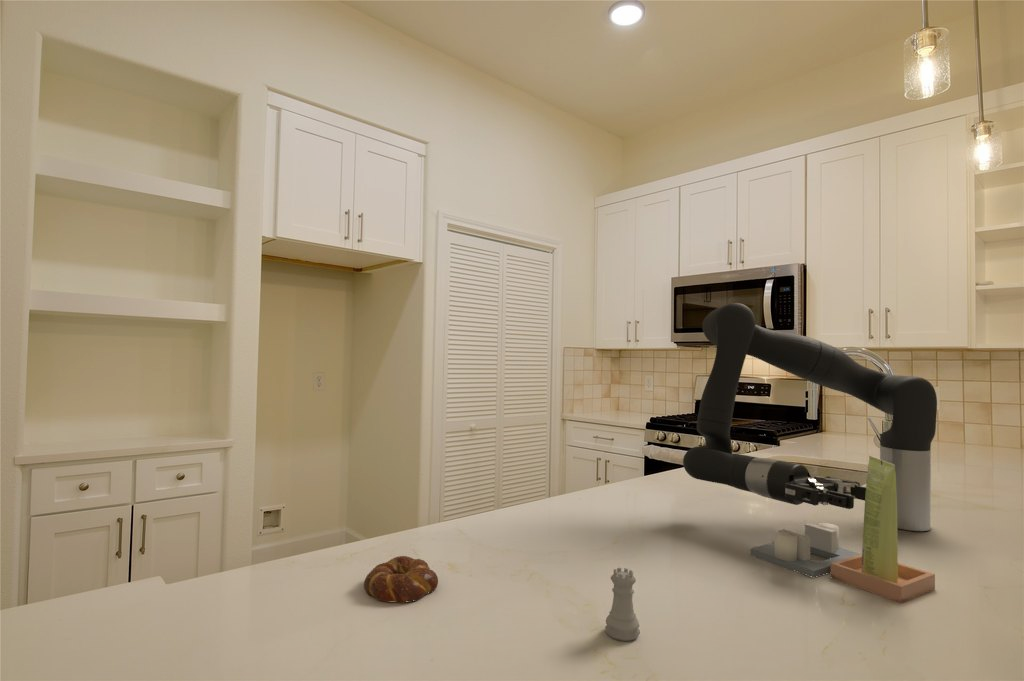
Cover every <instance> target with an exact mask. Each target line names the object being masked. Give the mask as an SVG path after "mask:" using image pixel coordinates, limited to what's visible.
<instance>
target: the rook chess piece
mask: <svg viewBox="0 0 1024 681" xmlns="http://www.w3.org/2000/svg"><path fill="white" fill-rule="evenodd" d="M610 580H611V581H612V583H613V587H612V588H611V590H612V593H613V598H612V603H611V604H612V605H611V609H610V611H609V614H608V615H607V616H606V619H605V625H606V626H605V627H604V630H605V632H606V634H607V635H608V636H609V637H610V638H611V639H613V640H615V639H616V641H620V642H632V641H633V640H636V639H637V638H638V637H639V635H640V633H641V632H640V629H639V627H640V621H639V619H638V618H637V615H636V613H635V610H634V603H633V602H634V601H633V595H634V593H635V591H634V589H633V585H634V584H636V582H637V580H636V578H635V576H634V571H633V570H631V569H629V568H623V571H622V568H621V567H618V568H614V569H613V574H612V575H611V576H610Z"/></svg>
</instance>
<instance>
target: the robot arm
mask: <svg viewBox="0 0 1024 681" xmlns="http://www.w3.org/2000/svg"><path fill="white" fill-rule="evenodd" d="M701 326H702V327H701V328H702V332H703V334H704V336H705V338H706V339H707V340H708V341H709V342H710V343H711V344H713V345H714V346H716V350H715V355H714V356H715V357H714V361H713V364H712V368H711V371H710V373H709V376H708V378H707V381H706V384H705V386H704V389H703V392H702V395H701V397H700V398H701V399H700V403H699V407H698V408H699V409H698V415H697V422H696V431H697V432H698V434H699V435H701V436H702V437H703V438H704V441H705V442H704V443H705V446H694V447H691V448H689V449H688V450H687V451H686V452H685V453H684V456H683V459H682V463H683V465H682V466H683V468H684V470H685V471H686V473H687V474H688V475H689V476H690V477H692V478H693V479H695V480H699V481H705V482H709V483H714V484H720V485H721V484H722V485H727V486H729V487H732V488H734V489H737V490H741V491H745V492H748V493H749V492H750V493H753V494H756V495H758V496H760V497H764V498H768V499H772V500H775V501H779V502H783V503H787V504H791V505H794V506H798V505H801V504H803V503H805V504H807V505H808V504H809V505H813V506H819V505H822V506H826V505H831V506H834V507H838V508H842V509H847V510H852V509H854V506H855V505H854V504H855V500H861V501H863V502H865V494H866V486H862V485H861V483H860V482H859V481H858V480H857V481H856V480H855V481H852V480H847V479H842V478H838V477H831V475H830V476H829V475H827V476H825V477H824V476H822V475H821V476H820V475H814V476H811V474H810V472H809V470H808V469H807V467H805V466H804V465H803V464H801V463H795V462H790V461H784V460H778V459H774V458H767V457H756V456H752V455H746V454H738V453H737V454H735V453H733V449H732V447H733V446H732V438H731V427H732V421H733V414H734V408H735V402H736V396H737V393H738V392H737V391H738V387H739V382H740V378H741V375H742V374H741V373H742V371H743V368H744V364H745V359H746V357H747V356H750V357H753V358H755V359H758V360H760V361H763V362H765V363H766V364H769V365H771V366H773V367H775V368H778V369H780V370H783V371H785V372H787V373H790V374H791V375H794V376H796V377H797V378H801V379H803V380H806V381H808V382H811V383H813V384H816V385H819V386H822V387H823V388H824V387H825V388H827V389H831V390H834V391H837V392H840V393H841V392H842V393H843V394H844V393H845V394H847V395H850V396H852V397H854V398H856V399H858V400H860V401H862V402H864V403H866V404H868V405H870V406H872V407H874V408H875V409H877V410H879V411H880V412H883V413H885V414H888V415H892V419H891V426H890V428H888V429H887V430H885V431H884V432H882V433H880V437H879V459H880V460H883V461H886V462H888V463H891V464H894V465H895V473H896V493H897V529H899V530H904V531H910V532H911V531H912V532H914V531H915V532H927V531H931V518H932V517H931V513H932V512H931V511H932V507H931V505H932V504H931V503H932V502H931V500H932V499H931V494H932V491H931V488H932V487H931V485H932V484H931V481H932V476H931V475H932V474H931V473H932V469H931V468H932V467H931V466H932V464H931V463H932V462H931V460H932V459H931V457H932V456H931V451H932V448H931V446H932V442H933V440H934V438H935V435H936V430H937V429H936V428H937V413H938V412H937V410H938V398H937V392H936V390H935V387H934V386H933V384H932V383H931V382H930V381H928V380H927V379H925V378H923V377H921V376H920V377H919V376H914V375H912V376H911V375H898V374H897V375H896V374H895V375H894V374H888V373H885V372H881V371H878V370H875V369H872V368H869V367H866V366H863V365H861V364H860V363H858V362H856V361H855V360H854V359H853V358H852V357H850V356H849V355H848V354H847V353H845V352H844V351H842V350H841V349H839V348H837V347H836V346H833V345H830V344H828V343H826V342H823V341H821V340H818V339H815V338H812V337H810V336H809V337H808V336H806V335H800V334H796V333H792V332H791V333H790V332H785V331H778V330H773V329H768V328H765V327H763V326H760V325H758V324H756V318H755V315H754V312H753V311H752V309H751V308H750V307H748V306H747V305H745V304H743V303H740V302H730V303H727V304H724V305H722V306H720V307H717V308H716V309H714V310H712V311H710V312H709V313H708V314H707V315H706V316H705V317H704V319H703V321H702V325H701ZM847 488H849V489H850V490H847Z"/></svg>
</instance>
